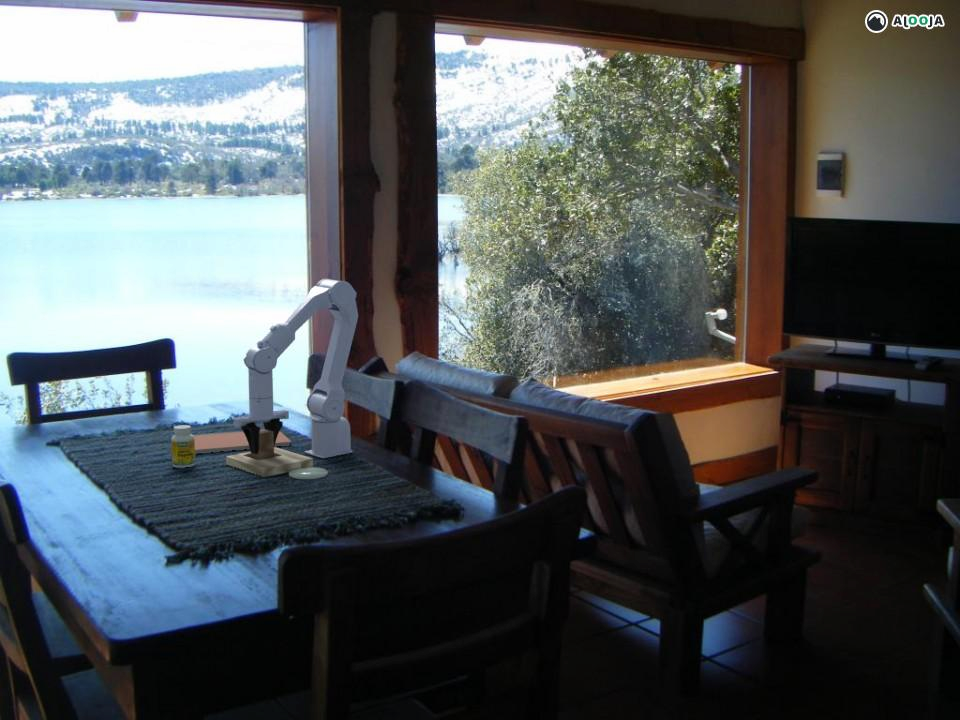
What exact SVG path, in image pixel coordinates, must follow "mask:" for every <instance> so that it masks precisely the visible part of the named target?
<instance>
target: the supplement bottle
mask: <svg viewBox="0 0 960 720" xmlns="http://www.w3.org/2000/svg"><path fill="white" fill-rule="evenodd" d="M173 433H174V435H172V437H171V460H172V467H173V468H176V469H186V468H185V467H189V468H191V467H194V466H195V465H196V454H195V440H194V436H195V435H194V434H192V427H191V425H187V424H182V425H181V424H180V425H175V426H173ZM193 435H194V436H193Z"/></svg>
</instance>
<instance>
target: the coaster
mask: <svg viewBox="0 0 960 720" xmlns="http://www.w3.org/2000/svg"><path fill="white" fill-rule="evenodd" d="M328 475H329V472H328V470H327V469H325V468H323V467H315V466H313V467H307V468H298V469H294V470H291V471H290V472H288V476H289V477H290V478H292V479H297V480H304V481H305V480H317V479H322V478H326V476H328Z"/></svg>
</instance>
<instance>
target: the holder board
mask: <svg viewBox="0 0 960 720" xmlns="http://www.w3.org/2000/svg"><path fill="white" fill-rule="evenodd" d="M225 458H226V461H225V463H226V466H230V467H233V468H235V467H236V469H238V468H239V470H241V469H242V470H241V471H244V470H245V472H248V473H250V472H251V474H253V473H254V475H256V474H257V475H256V476H259V475H260V477H261V478H266V476H267V477H272V476H276V475H280V474H285V473H289V472H290V471H291V470H294V469H298V468H307V467H314V458H312V457H309V456H305V455H303V454H298V453H295V452H292V451H289V450H286V449H283V448H279V447H274V457H273V458H268V459H263V460H256V459H253V458H251V451H247V452H242V453H237V454H232V455H227V456H226V457H225Z"/></svg>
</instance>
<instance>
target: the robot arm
mask: <svg viewBox="0 0 960 720" xmlns="http://www.w3.org/2000/svg"><path fill="white" fill-rule="evenodd" d="M356 298H357V291H355V289H354V287H353V286H352V285H351V284H350V283H349V282H348V281H346V280H335V279H331V278H327V277H326V278H322V279H321V280H318V281H317V283H316V285H314V286H313V287H311V288H310V291H309V292H308V293H307V295H306V297H305V298H304V299H303V300H302V302H301V303H300V304H299V305H298V306H297V308H296V309H295V310H294V311H293V312H292V313H291V315H290V316H289V317H288V318H287V319H286V321H285V322H284V323H277V324H276V325H274V324H273V325H271V327H270V328H269V330H270V331H269V332H268V333H267V334H266V335H265V336H264V337H263V339H262V340H259V341H257V343H256V345H257V346H254V347H251V348H249V350H248V351H246V354H245V355H246V356H244V358H243V362H244V365H245V367H246V368H247V369H248V370H247V371H248V407H249V408H248V409H249V412H248V414H245V415H242V416H238V417H233V419H232V420H233V427H235V428H240V429H241V431H243V432H244V434H245V436H246V438H247V441H248V444H249V447H250V449H249V452H251V453H253V454H258V438H259V432H260V429H261V427H260V426H257V424H260V423H261V424H262V423H263V427H264V428H263V429H267V430H271V431H274V447H275V442H276V439H277V436H278V433H279V431H280V432H281V429H282V427H283V424H284V422H283V421H281V420H288V419H289V418H290V415H289V410H286V409H283V410H274V381H273V380H274V378H273V374H274V373H273V370H274V369H276V367H277V364H278V359H279V357H280V356H281V355H283V353H284V352H285V351H286V350H287V349H288V348H289V347H290V346H291V345H292V343H294V342H295V341H296V332H297V331H299V329H300V328H301V327H303V326H304V324H305V323H306V322H308V321H309V320H310V318H311V317H312V316H314V315H315V314H316V313H317V312H318V311H321V310H327V309H328V310H329V311H330V314H331V315H332V316H333V318H334V319H335V320H334V324H333V327H332V332H331V334H330V339H329V343H328V347H327V352H326V355H325V360H324V363H323V367H322V371H321V375H320V379H319V380H318V381H317V382H316V383H315V384H314V385H313V389H312V391H311V393H310V394H309V396H308V397H307V399H306V408H307V410H308V411H309V412H310V413H311V417H310V418H311V422H310V423H311V449H310V450H304V453H305V454H307V455H309V456H310V455H311V456H313V457H317V458H319V459H327V458H332V457H338V456H342V455H347V454H350V453H353V450H352V449H351V448H352V447H351V446H352V445H351V439H352V438H351V424H350V422H349V420H348V419H347V418H346V417H344V414H345V409H346V404H345V396H346V393H345V390H344V388H343V385H342V383H343V380H344V376H345V371H346V368H347V363H348V360H349V355H350V351H351V347H352V343H353V340H354V336H355V331H356V328H357V327H356V326H357V323H358V319H359V312H358V307H357V301H356ZM337 455H338V456H337Z"/></svg>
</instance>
